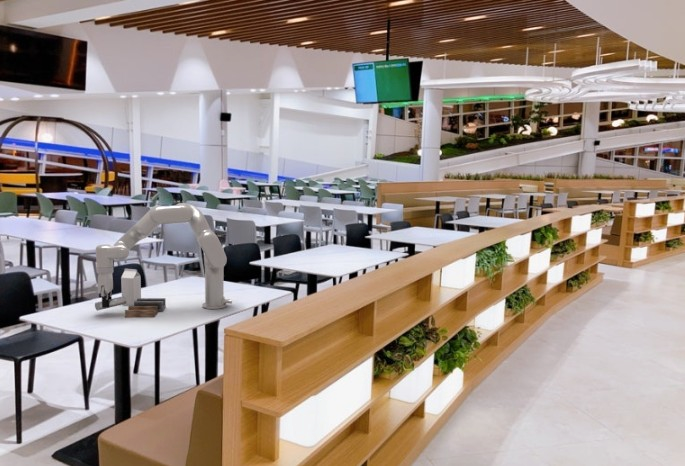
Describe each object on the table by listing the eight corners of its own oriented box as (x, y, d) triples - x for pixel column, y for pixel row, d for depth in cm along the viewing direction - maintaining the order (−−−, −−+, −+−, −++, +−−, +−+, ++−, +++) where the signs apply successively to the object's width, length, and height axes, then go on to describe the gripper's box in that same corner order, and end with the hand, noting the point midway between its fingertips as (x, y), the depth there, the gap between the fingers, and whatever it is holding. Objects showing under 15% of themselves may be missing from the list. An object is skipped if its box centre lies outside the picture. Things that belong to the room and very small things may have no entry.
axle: (126, 302, 290) (124, 295, 290) (124, 304, 286) (122, 297, 286) (98, 309, 289) (96, 301, 289) (96, 311, 285) (94, 303, 285)
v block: (165, 307, 304) (165, 298, 304) (162, 311, 297) (162, 302, 296) (138, 307, 303) (137, 298, 302) (134, 311, 295) (134, 302, 294)
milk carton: (134, 306, 305) (133, 270, 302) (121, 305, 307) (120, 270, 304) (141, 302, 312) (140, 268, 309) (129, 301, 313) (128, 267, 311)
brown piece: (157, 312, 294) (157, 306, 294) (154, 317, 287) (154, 310, 286) (129, 313, 293) (129, 306, 292) (125, 317, 285) (124, 310, 285)
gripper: (102, 266, 293) (104, 301, 295) (91, 273, 276) (93, 311, 279) (117, 266, 293) (119, 301, 296) (108, 273, 277) (110, 310, 280)
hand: (107, 305), depth 287 cm, fingers closed on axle, 4 cm apart
